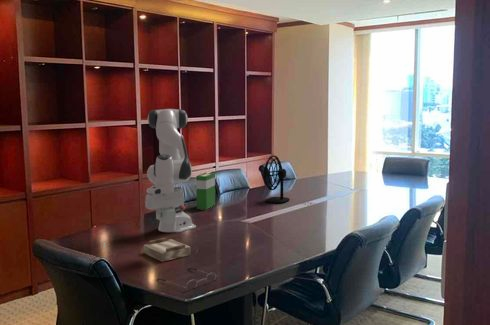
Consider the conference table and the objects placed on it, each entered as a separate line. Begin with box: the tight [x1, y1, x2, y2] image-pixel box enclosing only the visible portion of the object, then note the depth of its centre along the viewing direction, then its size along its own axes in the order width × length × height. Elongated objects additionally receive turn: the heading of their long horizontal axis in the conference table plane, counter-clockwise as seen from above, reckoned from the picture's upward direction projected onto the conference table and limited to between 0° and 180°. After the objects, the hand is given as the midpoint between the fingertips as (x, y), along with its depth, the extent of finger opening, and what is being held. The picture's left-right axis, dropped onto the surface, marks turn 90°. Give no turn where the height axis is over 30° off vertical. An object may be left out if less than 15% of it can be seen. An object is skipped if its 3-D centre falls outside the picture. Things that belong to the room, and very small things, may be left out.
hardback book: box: [195, 172, 216, 211], centre depth 340 cm, size 18×7×24 cm, turn 164°
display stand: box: [142, 237, 192, 263], centre depth 234 cm, size 16×18×6 cm
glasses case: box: [155, 207, 176, 224], centre depth 232 cm, size 4×12×6 cm, turn 36°
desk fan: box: [262, 154, 291, 204], centre depth 361 cm, size 27×18×35 cm, turn 150°
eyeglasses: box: [156, 267, 218, 291], centre depth 199 cm, size 18×19×4 cm
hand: (165, 216), depth 232 cm, fingers closed on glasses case, 5 cm apart
